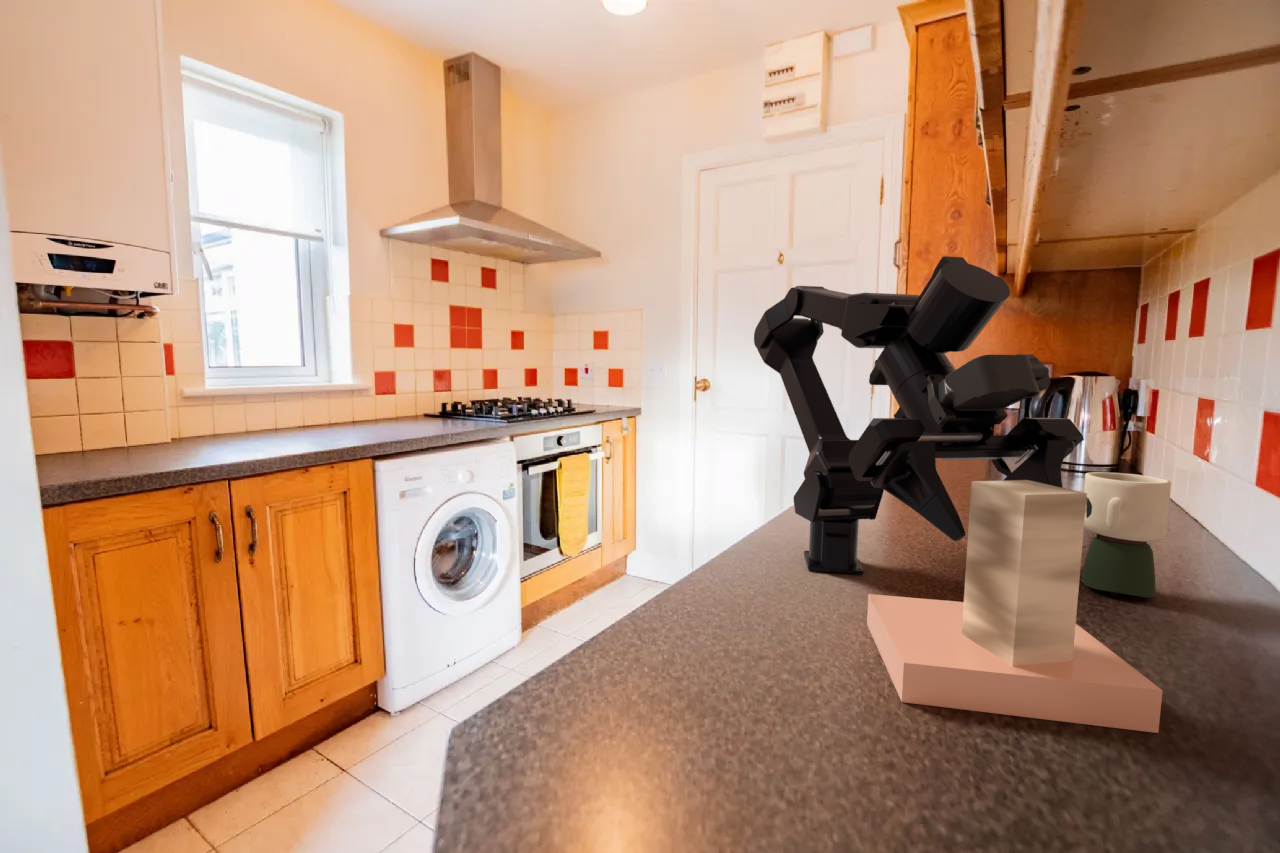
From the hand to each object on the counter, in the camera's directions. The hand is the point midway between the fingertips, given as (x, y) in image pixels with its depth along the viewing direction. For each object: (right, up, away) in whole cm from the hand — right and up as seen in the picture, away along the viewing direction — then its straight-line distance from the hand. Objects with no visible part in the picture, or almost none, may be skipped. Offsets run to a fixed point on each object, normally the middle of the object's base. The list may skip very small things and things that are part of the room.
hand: (1013, 536), depth 43 cm
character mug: (+24, -10, +19) cm, 33 cm away
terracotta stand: (-1, -11, +2) cm, 12 cm away
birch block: (0, -9, 0) cm, 8 cm away
